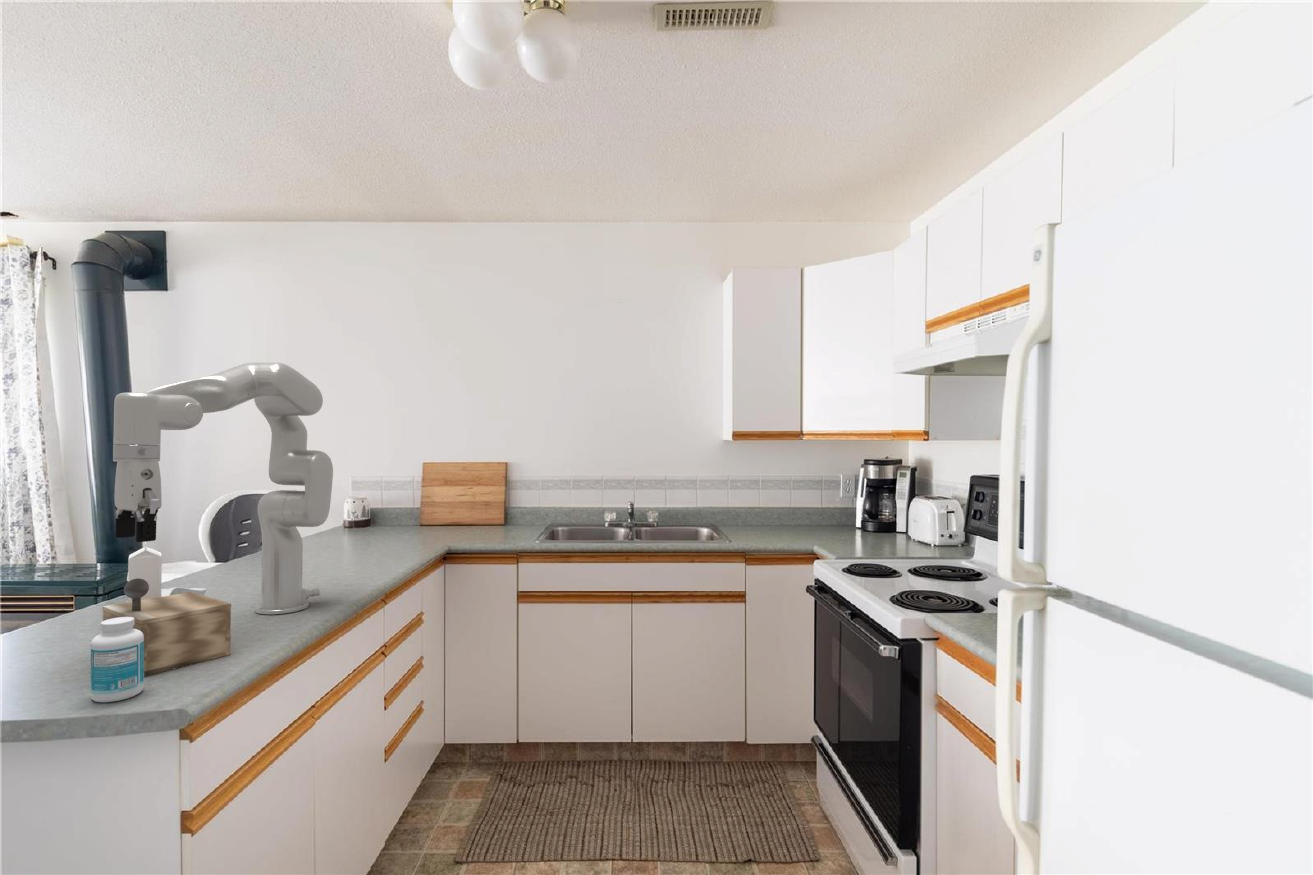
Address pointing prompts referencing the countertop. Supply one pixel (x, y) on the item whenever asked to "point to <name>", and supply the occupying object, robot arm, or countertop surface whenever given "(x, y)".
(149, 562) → the milk
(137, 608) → the flap
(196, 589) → the spoon rest
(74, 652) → the countertop surface
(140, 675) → the pill bottle
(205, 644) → the wooden box
